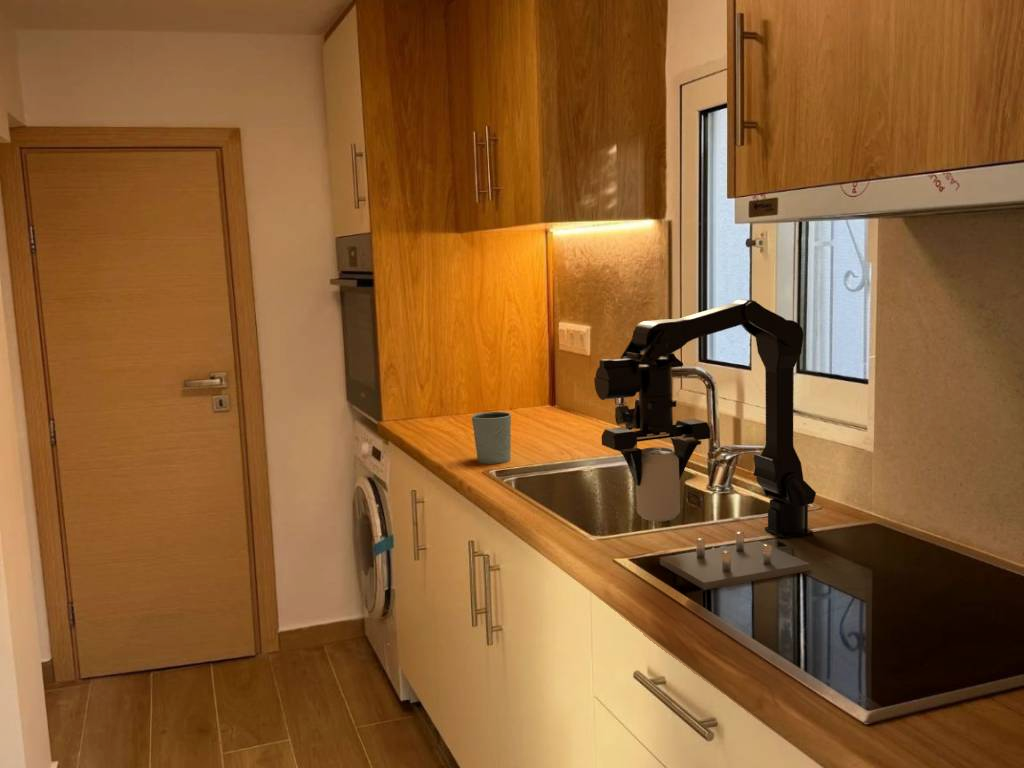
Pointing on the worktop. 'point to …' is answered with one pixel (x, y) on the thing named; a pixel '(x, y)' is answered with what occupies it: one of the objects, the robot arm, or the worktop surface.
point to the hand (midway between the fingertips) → (657, 482)
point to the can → (658, 485)
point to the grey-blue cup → (492, 437)
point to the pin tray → (733, 563)
